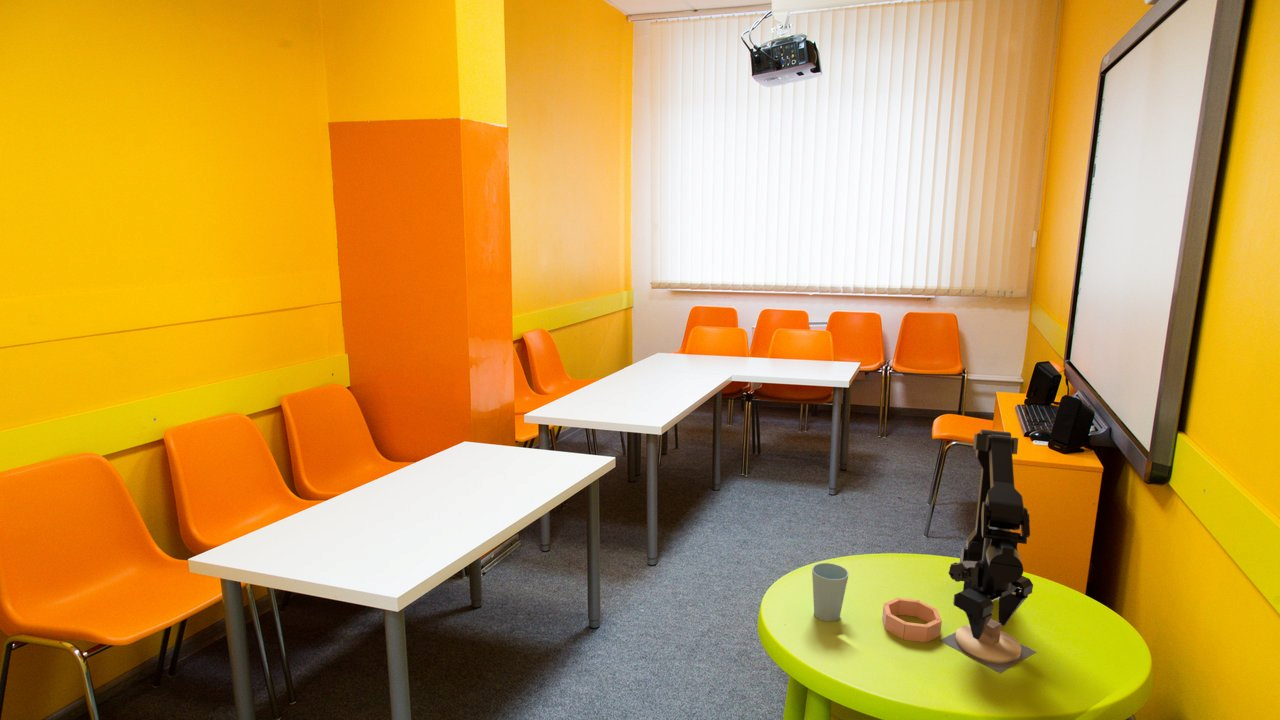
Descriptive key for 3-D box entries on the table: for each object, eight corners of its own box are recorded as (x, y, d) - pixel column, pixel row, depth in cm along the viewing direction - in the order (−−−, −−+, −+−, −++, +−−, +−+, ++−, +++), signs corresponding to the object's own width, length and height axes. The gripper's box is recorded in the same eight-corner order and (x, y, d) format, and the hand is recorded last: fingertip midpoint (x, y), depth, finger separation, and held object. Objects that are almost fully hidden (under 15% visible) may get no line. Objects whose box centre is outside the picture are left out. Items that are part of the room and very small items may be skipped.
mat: (975, 627, 159) (976, 621, 159) (1035, 657, 149) (1036, 651, 148) (938, 645, 152) (939, 640, 152) (999, 678, 141) (1000, 673, 141)
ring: (904, 612, 164) (906, 593, 164) (948, 635, 156) (951, 616, 155) (871, 626, 158) (873, 607, 158) (916, 652, 150) (918, 631, 149)
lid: (976, 623, 158) (979, 601, 157) (1032, 651, 149) (1035, 627, 148) (943, 640, 152) (945, 617, 151) (999, 670, 142) (1002, 646, 141)
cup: (852, 620, 161) (856, 575, 159) (823, 627, 158) (827, 582, 156) (830, 603, 168) (833, 560, 166) (802, 610, 165) (805, 566, 163)
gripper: (986, 534, 158) (978, 601, 161) (933, 555, 148) (925, 626, 151) (1038, 554, 149) (1028, 625, 152) (985, 578, 139) (976, 653, 142)
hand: (989, 631), depth 150 cm, fingers open, 9 cm apart
